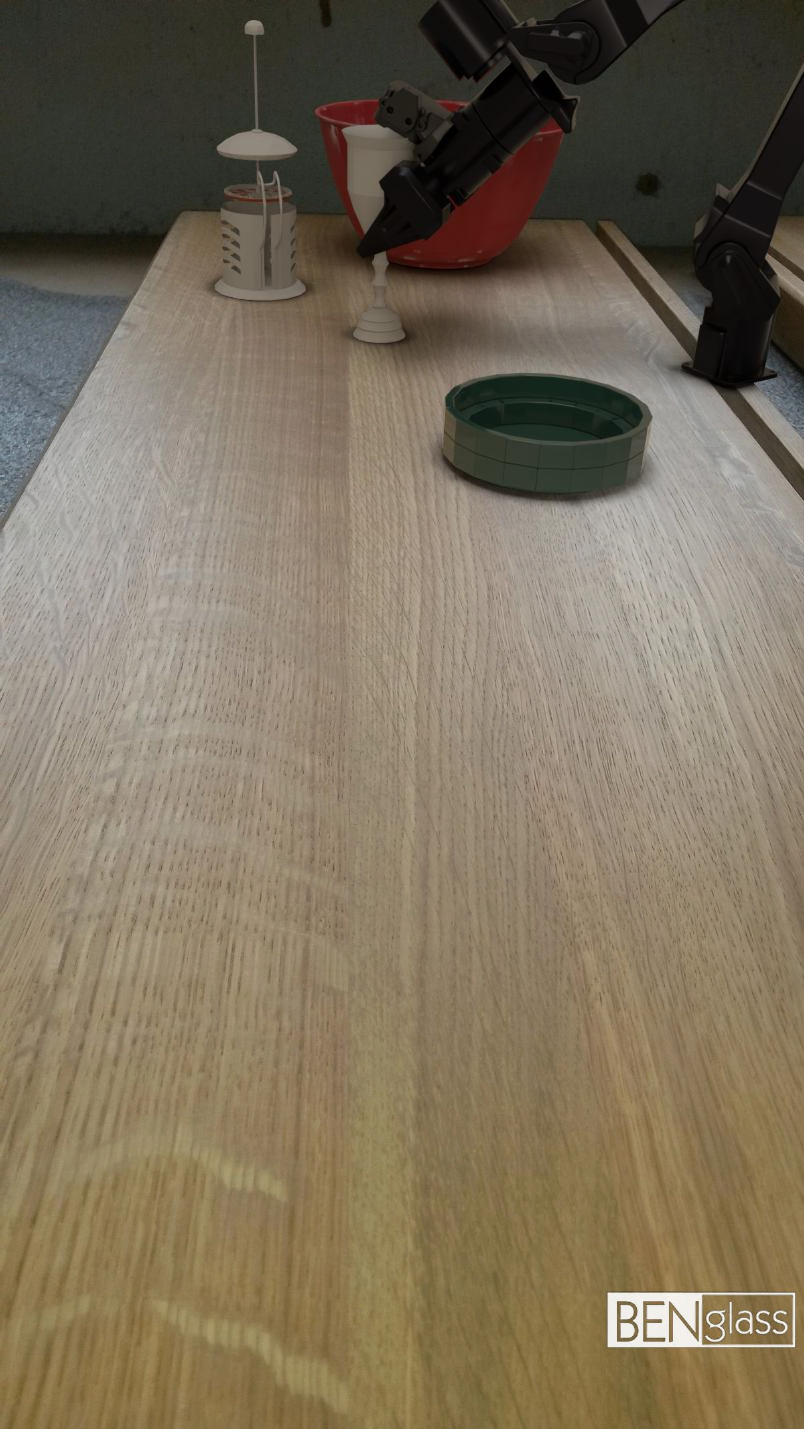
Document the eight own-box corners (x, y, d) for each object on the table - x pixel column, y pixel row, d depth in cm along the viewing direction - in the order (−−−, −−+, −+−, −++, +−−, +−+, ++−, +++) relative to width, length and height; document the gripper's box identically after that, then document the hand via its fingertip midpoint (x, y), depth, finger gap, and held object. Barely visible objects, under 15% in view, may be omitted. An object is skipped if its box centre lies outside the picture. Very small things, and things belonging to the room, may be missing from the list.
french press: (293, 274, 136) (291, 16, 122) (321, 302, 127) (322, 27, 113) (206, 277, 133) (193, 14, 119) (227, 307, 124) (217, 26, 110)
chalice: (426, 329, 120) (433, 129, 110) (403, 349, 114) (409, 141, 104) (356, 320, 122) (357, 122, 111) (331, 339, 116) (329, 134, 106)
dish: (550, 411, 102) (556, 361, 100) (685, 473, 92) (695, 420, 90) (402, 445, 95) (404, 392, 92) (531, 517, 84) (537, 460, 82)
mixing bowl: (338, 221, 158) (340, 89, 150) (557, 238, 156) (572, 104, 147) (292, 275, 135) (291, 122, 126) (549, 296, 132) (566, 141, 124)
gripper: (454, 38, 111) (337, 159, 119) (408, 58, 96) (277, 194, 104) (531, 140, 114) (411, 250, 122) (498, 174, 99) (364, 298, 107)
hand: (367, 246), depth 114 cm, fingers open, 6 cm apart
